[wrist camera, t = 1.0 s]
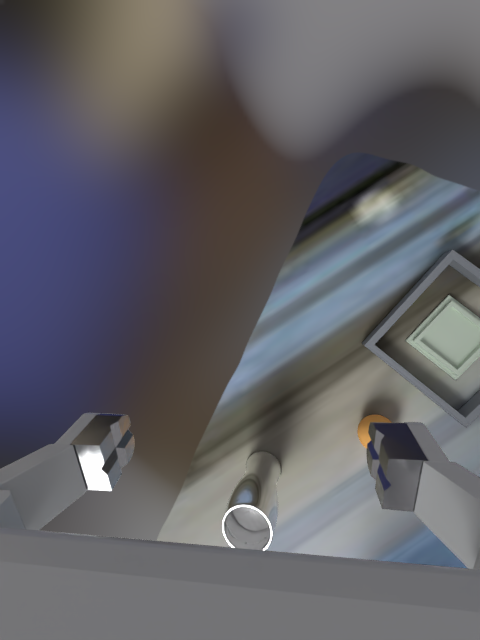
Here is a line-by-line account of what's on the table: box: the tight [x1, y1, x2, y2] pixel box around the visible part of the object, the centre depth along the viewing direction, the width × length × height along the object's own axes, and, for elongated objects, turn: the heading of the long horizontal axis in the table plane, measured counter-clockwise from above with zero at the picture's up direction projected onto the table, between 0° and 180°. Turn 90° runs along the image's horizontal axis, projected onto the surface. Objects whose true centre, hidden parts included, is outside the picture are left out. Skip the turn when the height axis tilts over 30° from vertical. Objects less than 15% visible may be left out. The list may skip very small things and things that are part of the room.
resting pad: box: [405, 295, 480, 380], centre depth 45 cm, size 9×9×1 cm
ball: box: [358, 415, 392, 448], centre depth 46 cm, size 6×6×6 cm
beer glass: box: [222, 451, 281, 551], centre depth 46 cm, size 7×7×15 cm
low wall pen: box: [362, 250, 480, 427], centre depth 45 cm, size 18×18×2 cm
